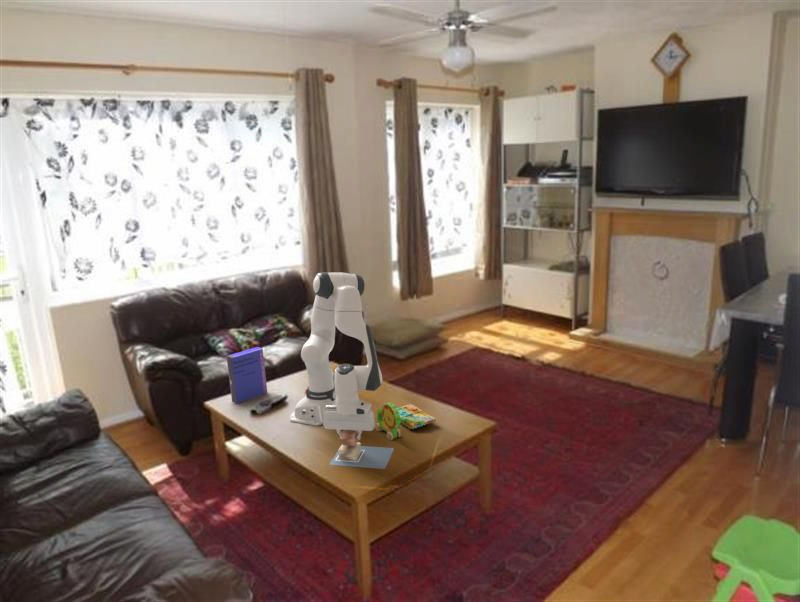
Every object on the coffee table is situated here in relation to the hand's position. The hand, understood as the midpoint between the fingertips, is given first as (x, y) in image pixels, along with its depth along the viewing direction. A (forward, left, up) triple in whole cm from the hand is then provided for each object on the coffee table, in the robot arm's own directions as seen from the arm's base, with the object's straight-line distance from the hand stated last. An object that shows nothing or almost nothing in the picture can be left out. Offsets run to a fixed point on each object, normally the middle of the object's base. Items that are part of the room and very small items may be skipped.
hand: (350, 439), depth 223 cm
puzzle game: (+18, +33, -8) cm, 39 cm away
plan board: (+4, 0, -8) cm, 9 cm away
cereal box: (-69, +51, -8) cm, 87 cm away
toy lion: (+10, +20, -8) cm, 24 cm away
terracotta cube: (0, 0, -2) cm, 2 cm away
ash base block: (-1, 0, -7) cm, 7 cm away
